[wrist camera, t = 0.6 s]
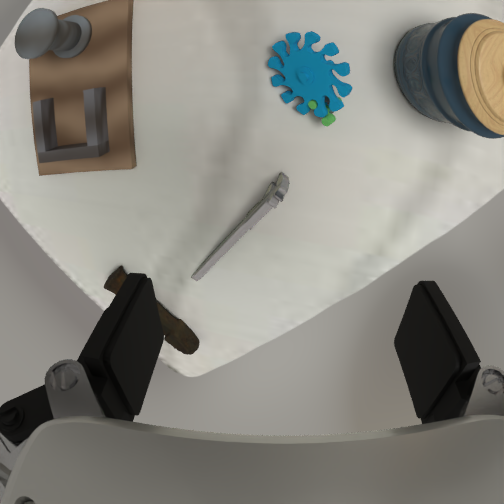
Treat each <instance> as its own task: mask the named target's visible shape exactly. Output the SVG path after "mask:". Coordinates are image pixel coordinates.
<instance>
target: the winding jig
mask: <svg viewBox="0 0 504 504" xmlns="http://www.w3.org/2000/svg"><path fill="white" fill-rule="evenodd" d="M132 16H133V0H108V1H104V2H101V3H97V4H93V5H90V6H87V7H83V8H80V9H77V10H74V11H71V12H68V13H65V14H62V15H59V16H57V15H56V14H55V12H53V11H52V10H49V9H44V8H39V9H35V10H33V11H31V12H30V13H29V14H27V15H26V16H25V18H24V19H23V20H22V22H21V23H20V25H19V27H18V29H17V32H16V36H15V48H16V51H17V53H18V55H19V56H20V57H22V58H25V59H29V71H30V99H31V113H32V124H33V134H34V142H35V150H36V157H37V164H38V170H39V176H40V175H50V174H61V173H73V172H86V171H101V170H119V169H133V168H134V167H135V166H136V155H135V142H134V126H133V106H132Z"/></svg>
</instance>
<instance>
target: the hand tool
mask: <svg viewBox="0 0 504 504" xmlns="http://www.w3.org/2000/svg"><path fill="white" fill-rule="evenodd" d="M126 277H127V275H126V274H125V273H124V272H123V267H122V266H120V267H119V268H118V269H117V270H116V271H114V272H113V273H112V274H111V275H110V276H109V277H108V279H107V281H106V283H105V285H104V288H105V289H107V290H109V291H111V292H113V293H114V294H117V292H118V291H119V289H120V287H121V286H122V284H123V282H124V281H125V279H126ZM156 303H157V302H156ZM157 307H158V311H159V316H160V320H161V324H162V328H163V332H164V335H165V338H164V340H165V341H167V342H168V343H169V344H171V345H172V346H173V347H174V348H176V349H177V350H178V351H181V352H182V353H184V354H190V355H191V354H193V353H194V352H195V351H196V350H197V349H198V348H199V340H198V338H197V337H196V335H195V334H194V333H193V331H192V330H191V329H190V328H189V327H188V326H187V325H186V324H185V323H184V322H183V321H182V320H181V319H176V318H174V317H173V316H172V315H170V314H169V313H168V312H167V311H166V310H165V309H164V308H163V307H162V306H161V305H160V304H159V303H157Z"/></svg>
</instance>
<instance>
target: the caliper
mask: <svg viewBox="0 0 504 504" xmlns="http://www.w3.org/2000/svg"><path fill="white" fill-rule="evenodd" d="M288 187H289V179H288V177H287V176H286V175H285V174H284V173H282V172H281V173H280V174H279V177H278V181H277V184H275V183H274V182H272V183H271V184H270V186H269V188H268V190H267V192H266V194H265V196H264V198H263V199H262V200H261V201H260V202H259V203H258V204H256V205H255V206H254V208H253V209H252V210H251V211H250V212H249V213H248V214H247V216H246V218H245V219H244V220H243V221H242V222H241V223H240V224H239V225H238V226H237V227H236V228H235V229H234V231H233V232H232V233H231V234H230V235H229V236H228V237H227V238H226V239H225V240H224V241H223V242H222V243H221V244H220V245H219V246H218V248H217V249H216V250H215V251H214V252H213V253H212V254H211V255H210V256H209V257H208V258H207V259H206V260H205V261H204V262H203V264H202V265H201V266H200V267H199V268H198V269H197V271H196V272H195V273H194V274H193V275H192V277H191V278H193V279H194V280H196V281H198V280H199V279H201V278H202V277H203V276H204V275H205V274H206V273H207V272H208V271H209V270H210V269H211V268H212V267H213V266H214V265H215V263H216V262H217V261H218V260H219V259H220V258H221V257H222V256H223V255H224V254H225V253H226V252H227V251H228V250H229V249H230V248H231V247H232V246H233V245H234V244H235V243H236V242H237V241H238V240H239V239H240V238H241V237H242V236H243V235H244V234H245V233H246V232H247V231H248V230H249V229H251V228H252V227H253V226H254V225H255V224H256V223H257V222H258V221H259V220H260V219H261V218H262V217H263V216H264V215H265V214H266V213H267V212H269V211H270V210H271V209H272V207H274V208H276V207H277V205H278V203H279V200H280V201H281V202H282V201H283V197H284V195H285V194H286V193H287V191H288Z"/></svg>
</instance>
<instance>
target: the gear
mask: <svg viewBox="0 0 504 504" xmlns="http://www.w3.org/2000/svg"><path fill="white" fill-rule="evenodd" d="M286 39H287V41H288V43H289V46H290V55H289V54H288V53H287V51H286V48H287V46H286V43H285V42H284V41H280V42H277V43H275V44H274V45H273V46H272V48H273V50H274V51H275V52H277V53H278V54H279V55H280V56H281V58H282V60H283V62H284V66H283V65H282V63H281V61H280V59H279V58H278V57H277V56H274V57H271V58H270V59H269V62H268V66H269V67H270V68H274V69H277V70H279V71H280V72H281V73H282V74H283V75H284V76H285V79H284V78H283V77H282V76H281V75H279V74H277V75H275V76H273V77H272V84H273V86H275V87H277V86H279V85H285V86H288V87H290V88H291V89H292V91H293V92H291V91H286V92H285V93H283V94H281V96H282V99H283V100H284V102H285V103H289V102H291V101H293V100H294V98H295V97H296V96H301V97H303V99H304V102H303V103H301V104H299V105H298V106H297V108H296V109H297V110H298V111H299V112H300V113H301V114H303V115H305V114H306V113H308V112H309V111H310V108H311V109H315V110H314V114H315V116H318V117H323V118H322V124H323V125H324V126H329V125H330V124H332V123H333V122H334V121H335V120H336V118H335V116H334V115H333V114H332V113H333V112H334V111H338V110H339V109H341V108H342V107H344V104H343V102H342V100H341V99H340V98H338V97H337V96H336V95H335V93H334V90H333V87H332V85H335V86H336V88H337V90H338V93H339V95H340V96H342V97H345V96H347V95H348V94H349V93H350V92H351V90H352V86H351V85H349V84H347V83H343V82H341V81H340V80H338V79H337V78H336V77H335V76H334V75H333V73H332V69H333V70H335V71H336V72H337V73H338V74H339V75H340V76H346V75H348V74H349V73H350V67H349V64H348V63H346V62H343V63H340V64H334V62H333V61H331V60H328V61H326V60H325V57H324V55H328V56H334V55H336V54H338V53H339V50H338V48H337V46H336V45H335V44H334V43H329V44H326V45H325V46H324V48H323V49H322V50H321V51H320V52H314V51H313V50H312V48H311V46H312V44H314V43H317V42H319V41H320V36H319V35H318V34H316V33H314V32H312V31H311V32H307V33H306V34H305V44H304V46H303V48H302V49H299V48H298V46H297V43H298V42H299V40H300V39H301V35H300V33H297V32H292V33H288V34H286Z"/></svg>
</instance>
